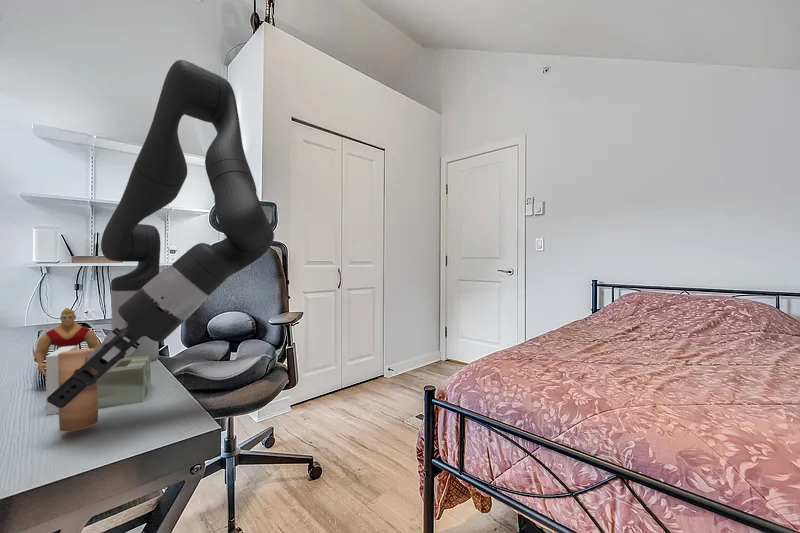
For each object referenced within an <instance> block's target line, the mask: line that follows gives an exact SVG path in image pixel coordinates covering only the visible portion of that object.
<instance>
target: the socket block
mask: <svg viewBox="0 0 800 533" xmlns="http://www.w3.org/2000/svg"><path fill="white" fill-rule="evenodd" d="M151 379H152V378H151V361H150V355H147V356H137V357H127V358H124V359H123V360H122V361H121V362H120V363H119V364H118V365H117V366H116V367H115V368H113V369H112V370H111V371H110V372H105V373H104V374H103V375H102V376H101V377H100V378H99V379H97V381H98V410H100V409H105V408H106V409H107V408H113V407H119V406H124V405H125V406H127V405H132V404H140V403H144V401H145V398H146V397H147V394H148V392H149V390H150V388H151V385H152V384H151V383H152V380H151Z"/></svg>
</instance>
